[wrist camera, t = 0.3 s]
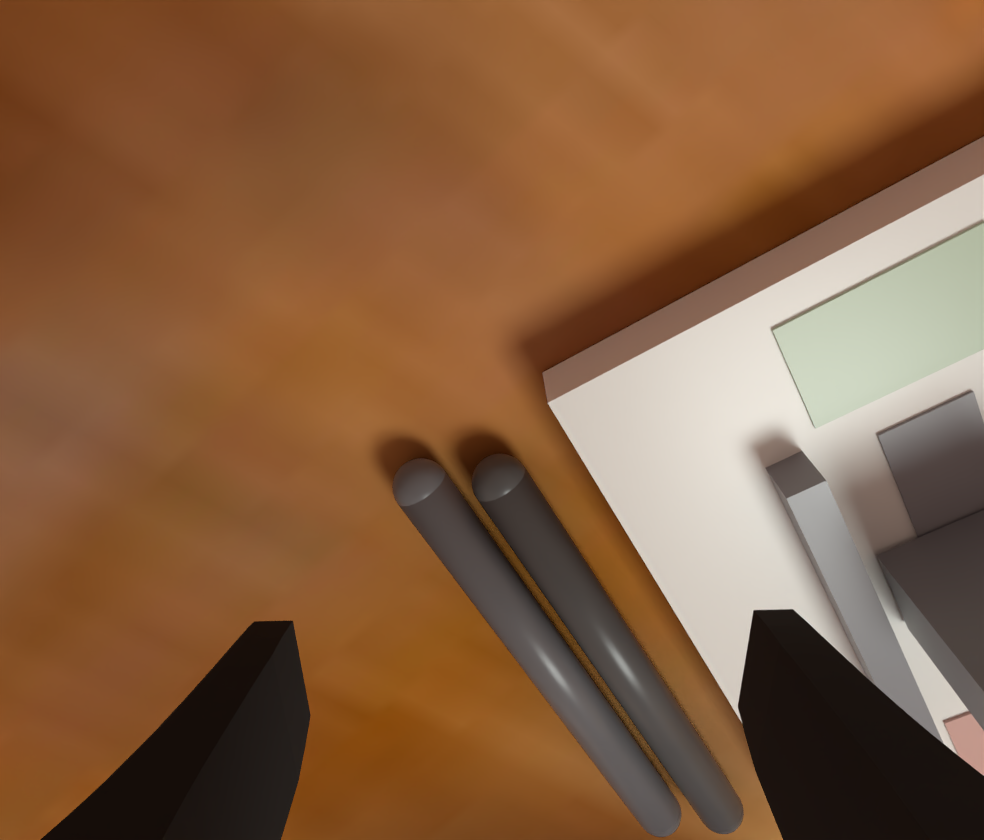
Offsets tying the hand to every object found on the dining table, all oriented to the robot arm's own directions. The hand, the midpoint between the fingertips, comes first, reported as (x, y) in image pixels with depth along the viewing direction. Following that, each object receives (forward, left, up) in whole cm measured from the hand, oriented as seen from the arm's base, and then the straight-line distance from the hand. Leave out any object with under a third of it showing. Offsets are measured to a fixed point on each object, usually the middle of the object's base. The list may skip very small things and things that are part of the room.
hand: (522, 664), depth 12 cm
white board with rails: (-10, -7, -10) cm, 15 cm away
